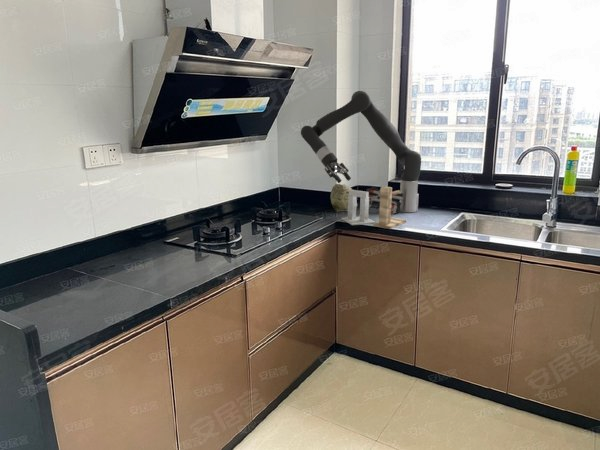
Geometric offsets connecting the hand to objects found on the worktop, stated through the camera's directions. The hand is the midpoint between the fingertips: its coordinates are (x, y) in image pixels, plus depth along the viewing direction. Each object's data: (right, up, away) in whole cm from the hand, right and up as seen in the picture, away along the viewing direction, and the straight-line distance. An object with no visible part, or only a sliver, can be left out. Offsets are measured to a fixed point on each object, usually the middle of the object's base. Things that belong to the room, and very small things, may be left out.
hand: (345, 180), depth 227 cm
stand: (+22, -22, -7) cm, 32 cm away
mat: (+7, -21, -1) cm, 22 cm away
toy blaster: (+21, -17, +15) cm, 31 cm away
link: (+6, -20, -1) cm, 21 cm away
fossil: (+2, -14, +25) cm, 29 cm away
